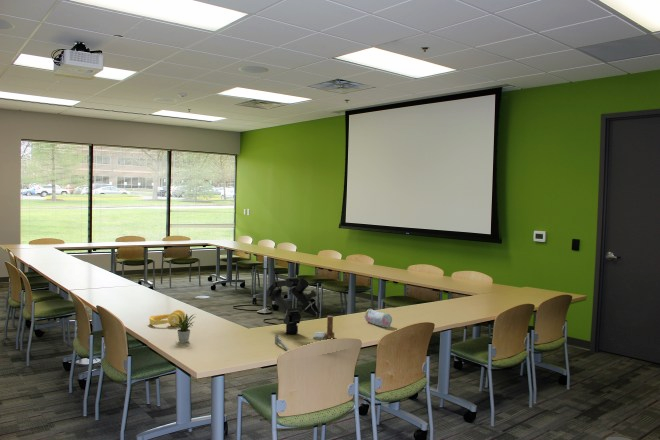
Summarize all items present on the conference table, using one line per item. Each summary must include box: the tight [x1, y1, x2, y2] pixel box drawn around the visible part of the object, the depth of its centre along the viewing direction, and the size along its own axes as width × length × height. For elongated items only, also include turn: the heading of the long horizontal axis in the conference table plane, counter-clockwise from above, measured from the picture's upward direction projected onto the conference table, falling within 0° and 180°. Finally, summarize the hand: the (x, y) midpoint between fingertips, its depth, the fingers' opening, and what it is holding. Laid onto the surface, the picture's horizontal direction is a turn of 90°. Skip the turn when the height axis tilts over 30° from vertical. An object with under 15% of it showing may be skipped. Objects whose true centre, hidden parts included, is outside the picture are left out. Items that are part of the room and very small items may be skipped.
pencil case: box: [364, 308, 393, 328], centre depth 344 cm, size 21×9×10 cm, turn 31°
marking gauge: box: [324, 315, 335, 340], centre depth 306 cm, size 5×6×13 cm
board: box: [312, 331, 326, 340], centre depth 310 cm, size 6×13×1 cm, turn 175°
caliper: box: [274, 333, 290, 352], centre depth 284 cm, size 20×1×6 cm, turn 28°
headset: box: [149, 309, 186, 327], centre depth 333 cm, size 18×21×9 cm
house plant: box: [173, 313, 196, 343], centre depth 293 cm, size 14×14×16 cm
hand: (318, 314), depth 308 cm, fingers open, 9 cm apart
